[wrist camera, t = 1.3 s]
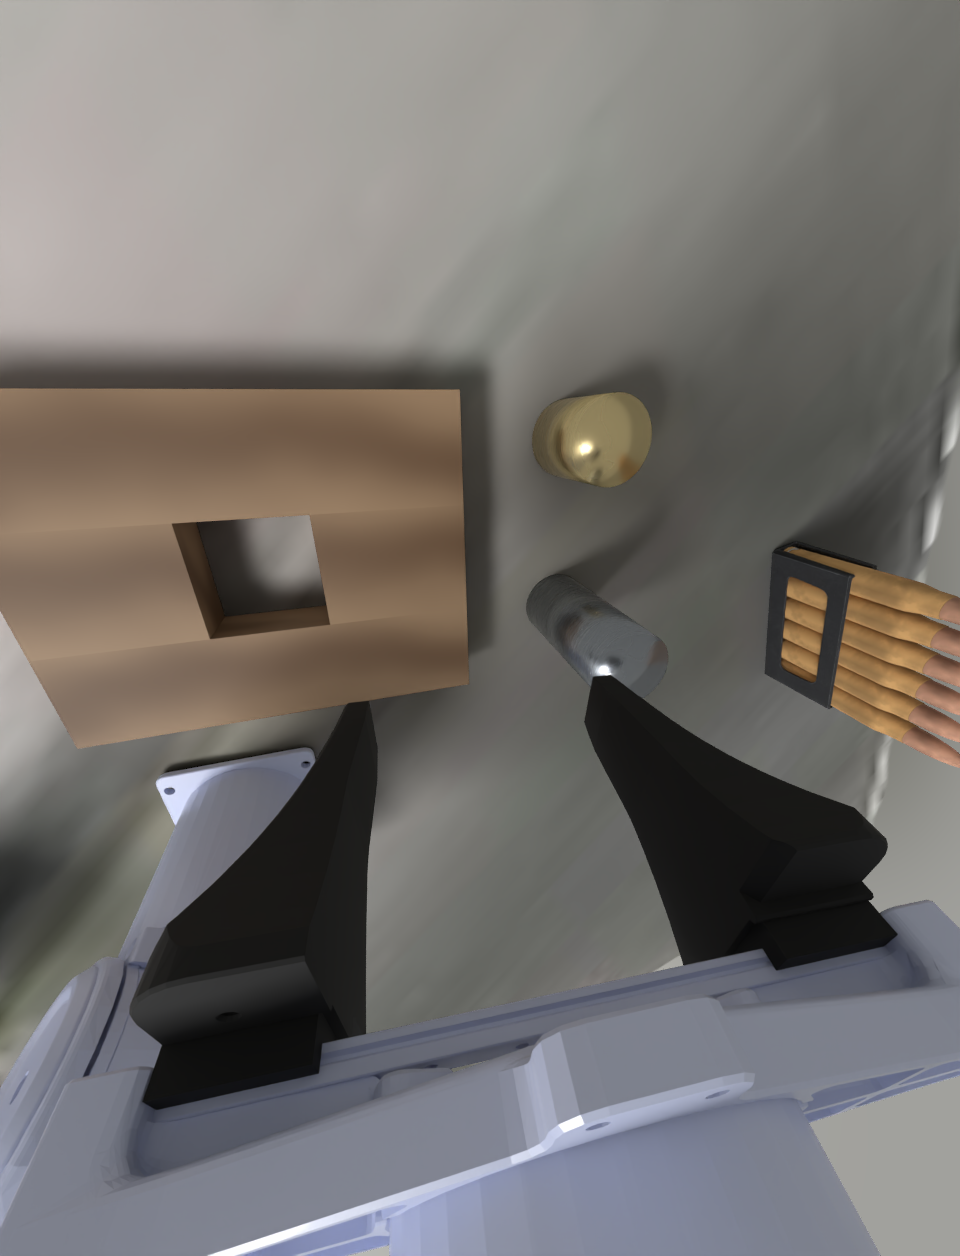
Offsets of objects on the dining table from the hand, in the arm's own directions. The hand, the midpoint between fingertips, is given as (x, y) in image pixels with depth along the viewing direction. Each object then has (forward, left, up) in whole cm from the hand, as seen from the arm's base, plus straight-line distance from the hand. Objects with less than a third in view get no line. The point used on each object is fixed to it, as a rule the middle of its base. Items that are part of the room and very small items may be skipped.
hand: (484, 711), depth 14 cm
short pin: (+8, -7, -11) cm, 15 cm away
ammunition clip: (-4, -25, -11) cm, 28 cm away
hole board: (+3, +8, -11) cm, 13 cm away
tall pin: (-1, -7, -11) cm, 13 cm away
